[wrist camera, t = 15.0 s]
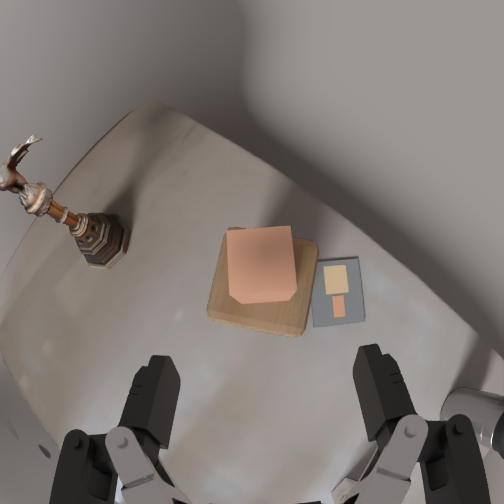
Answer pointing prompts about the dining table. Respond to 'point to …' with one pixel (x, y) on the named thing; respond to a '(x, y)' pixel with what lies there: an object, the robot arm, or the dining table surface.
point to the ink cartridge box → (342, 490)
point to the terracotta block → (261, 264)
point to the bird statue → (68, 214)
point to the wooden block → (268, 313)
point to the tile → (337, 293)
